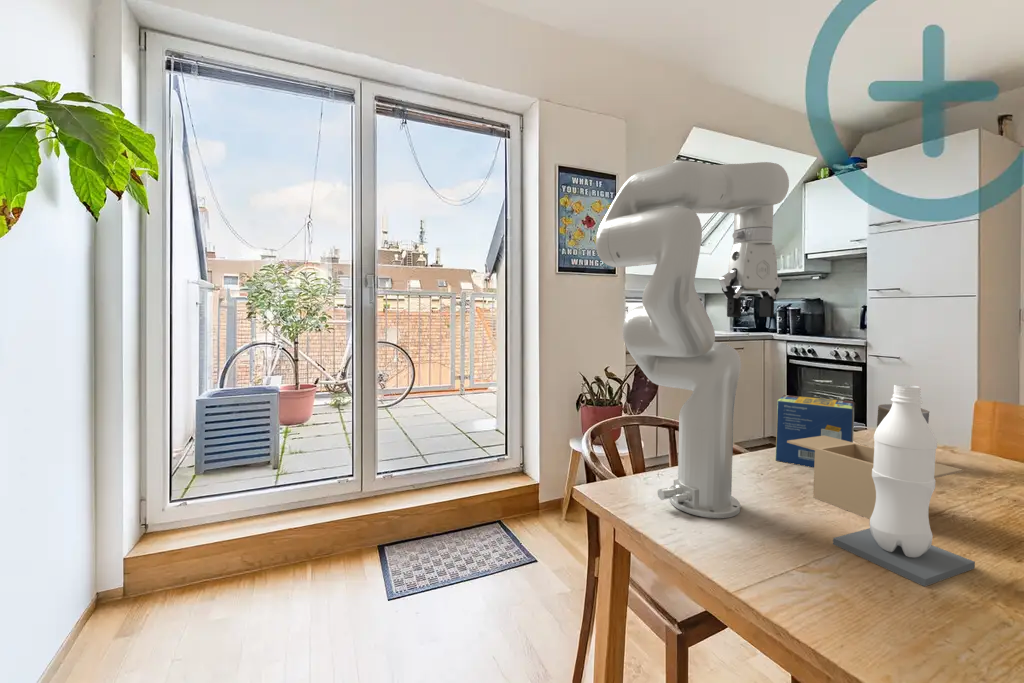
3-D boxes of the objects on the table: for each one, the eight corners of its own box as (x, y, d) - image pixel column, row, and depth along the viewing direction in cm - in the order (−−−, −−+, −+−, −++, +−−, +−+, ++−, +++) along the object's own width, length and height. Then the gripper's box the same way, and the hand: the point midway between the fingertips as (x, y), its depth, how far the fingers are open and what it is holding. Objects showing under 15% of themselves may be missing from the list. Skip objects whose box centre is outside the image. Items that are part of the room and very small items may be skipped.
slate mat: (924, 586, 60) (925, 579, 60) (832, 544, 71) (833, 538, 71) (974, 568, 64) (975, 561, 64) (880, 531, 75) (880, 525, 75)
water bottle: (906, 538, 71) (914, 382, 69) (945, 563, 64) (954, 390, 62) (858, 536, 72) (864, 382, 70) (891, 560, 64) (899, 389, 63)
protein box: (781, 451, 120) (783, 394, 119) (852, 463, 110) (855, 401, 110) (774, 461, 112) (776, 400, 111) (850, 474, 102) (853, 408, 102)
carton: (919, 538, 73) (922, 478, 72) (785, 486, 95) (786, 440, 94) (959, 526, 77) (962, 469, 76) (822, 479, 99) (824, 435, 99)
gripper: (737, 233, 91) (734, 317, 92) (796, 238, 97) (794, 316, 98) (708, 239, 98) (707, 317, 99) (766, 243, 104) (763, 316, 105)
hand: (750, 316), depth 98 cm, fingers open, 9 cm apart
